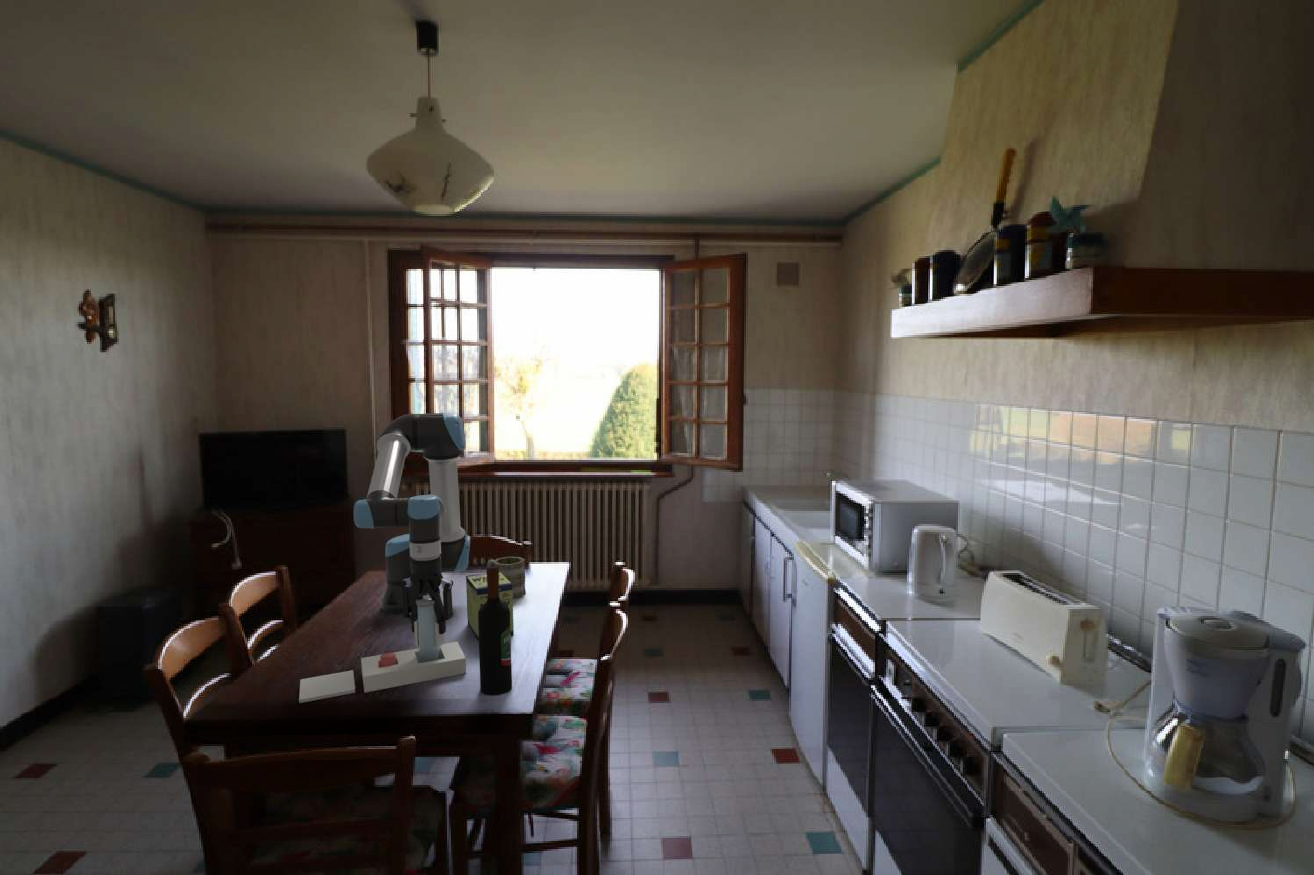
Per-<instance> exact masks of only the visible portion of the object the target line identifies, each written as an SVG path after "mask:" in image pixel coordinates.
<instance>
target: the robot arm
mask: <svg viewBox="0 0 1314 875" xmlns="http://www.w3.org/2000/svg"><path fill="white" fill-rule="evenodd" d="M464 428H465V427H464V424H463V419H462V417H461V416H460V415H459V414H457V413H450V412H449V413H447V412H438V413H437V412H436V413H435V412H433V413H432V412H431V413H408V414H403V415H401V416H399V417H397V418H395V419H393V421H391V422H390V423H388V424H387V425H386V426H385V427H384V428H383V430H382V431H381V432H380V434H379V436H378V439H377V442H376V449H377V452H378V453H377V455H376V456H377V457H376V460H375V465H374V468H373V473H372V476H371V479H370V485H369V488H368V492H367V496H366V499H365V498H363V499H359V500H356V502H354V506H353V522H354V525H355V526H356V527H357V528H359V529H373V530H374V529H382V528H383V529H385V528H399V527H400V528H402V527H404V528H405V527H408V532H409V533H407V534H402V535H398V536H395V537H392V538H391V539H389V540H388V541H387V542H386V543H385V551H384V552H385V554H384V557H385V570H386V574H385V575H386V587H385V590H384V594H383V598H382V602H381V609H382V611H384V612H385V613H391V614H403V618H404V619H408V620H409V621H410V624H411V625H410V626H411V633H414V647H419V632H418V609H417V605H416V600H419V599H420V598H422V597H423V596H425V595H429V596H430V598H431V599H432V601H435V605H433V606H434V610H435V613H436V617H437V620H438V621H437V622H435V641H436V648H439V647H440V646H441V645H442V644H444V634H445V633H446V631H447V624H446V621H450V619H452V618H453V616H454V614H453V612H454V611H453V592H452V591H453V590H452V589H453V585H454V581H453V579H450V580H447V579H445V578H444V577H443V574H445V573H446V574H447V573H448V574H449V573H452V574H455V573H457V572H464V571H466V570H467V569H468V566H469V555H470V548H471V546H470V545H471V536H470V535H467V533H466V530H465V529H464V528H463V527H462V526H461V514H460V511H461V510H460V495H459V474H458V459H459V458H460V457H461V456H462V451H464V450H465V449H466V448H467V446H466V445H467V442H466V433H465V429H464ZM410 452H422V457H423V459H425V460H427V462H428V471H429V487H430V494H422V495H415V496H412V497H402V498H400V497H399V498H398V494H399V489H400V484H401V479H402V474H403V470H404V464H405V460H406V458H407V456H408V455H409V454H410ZM440 586H441V589H442V597H441V589H440Z"/></svg>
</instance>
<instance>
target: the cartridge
mask: <svg viewBox="0 0 1314 875" xmlns="http://www.w3.org/2000/svg"><path fill="white" fill-rule="evenodd" d="M416 605H417V609H418V632H419V646H418V648H419V655H420V663H423V662H429V661H434V660H440V647H439V648H436V641H435V622H437V621H438V620H437V617H436V613H435V610H434V606H433V605H435V601H432V599H431V598H430V596H429V595H425V596H423V597H422V598H420V599H419V600H416Z"/></svg>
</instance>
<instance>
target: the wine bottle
mask: <svg viewBox="0 0 1314 875" xmlns="http://www.w3.org/2000/svg"><path fill="white" fill-rule="evenodd" d="M486 573H487V591H488V598H487V602H486V603H484V604H483V605H482V606H481V607H480V609H479V611H478V632H479V641H478V654H479V656H478V657H479V658H478V659H479V683H480V684H479V687H480V689H479V690H480V692H481V694H483V695H485V696H500V695H503V694H507V693H508V692H510V691H511V690H512V688H513V671H512V669H513V668H512V640H511V639H512V638H511V637H512V636H511V632H510V610H509V607H508V606H507V605H506V604H505V603H504V602H502V601H501V600H500V597H499V569H498V567H497V566H493V565H491V567H487V566H486Z"/></svg>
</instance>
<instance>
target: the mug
mask: <svg viewBox="0 0 1314 875" xmlns="http://www.w3.org/2000/svg"><path fill="white" fill-rule="evenodd" d="M525 561H526V559H525V558H523V557H521V556H505V557H499V558H496V559H495V560H494V559H490V560H488V561H487V563H486V564H487V565H486V568H487V567H491V566H497V567H498V569H499V572H501V573H502V574H503V575H504V576H505V577H506V578H507V579H508V580H509V581H510V582H511V583H512V590H513V600H515V599H520V598H523V597H524V596H525V595H527V591H526V572H525V568H526V567H525V563H526V562H525Z"/></svg>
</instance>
